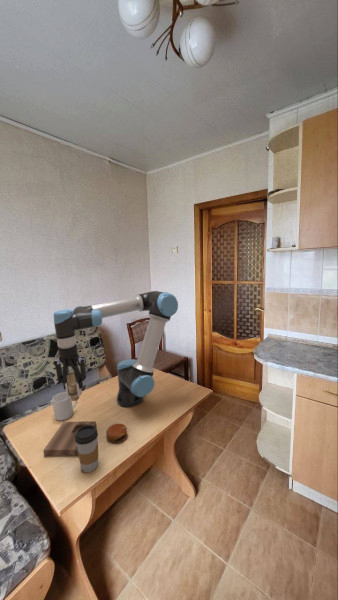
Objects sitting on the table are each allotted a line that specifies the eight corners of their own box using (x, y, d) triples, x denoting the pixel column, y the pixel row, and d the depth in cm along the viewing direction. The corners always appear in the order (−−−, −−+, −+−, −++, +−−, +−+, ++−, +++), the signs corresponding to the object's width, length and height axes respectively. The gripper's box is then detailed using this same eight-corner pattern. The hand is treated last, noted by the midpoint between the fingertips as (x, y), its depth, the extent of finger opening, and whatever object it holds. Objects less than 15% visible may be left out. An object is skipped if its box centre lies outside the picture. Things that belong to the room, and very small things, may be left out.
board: (96, 426, 119) (96, 421, 119) (82, 456, 101) (81, 449, 101) (64, 427, 120) (63, 421, 119) (44, 456, 102) (43, 450, 102)
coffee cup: (81, 458, 100) (77, 425, 98) (102, 456, 101) (99, 423, 98) (75, 476, 92) (71, 440, 89) (98, 473, 92) (94, 437, 90)
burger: (104, 434, 114) (103, 425, 113) (123, 427, 118) (122, 418, 117) (109, 448, 105) (109, 438, 104) (130, 440, 110) (129, 430, 109)
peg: (81, 395, 113) (78, 371, 111) (77, 401, 109) (74, 375, 107) (72, 396, 113) (68, 371, 111) (68, 401, 109) (64, 376, 107)
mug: (58, 424, 123) (55, 403, 121) (52, 416, 129) (49, 396, 127) (81, 413, 131) (79, 393, 129) (75, 406, 137) (72, 388, 135)
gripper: (90, 341, 110) (96, 389, 114) (52, 343, 111) (59, 391, 115) (84, 347, 103) (90, 399, 106) (43, 349, 103) (51, 401, 107)
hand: (74, 395), depth 110 cm, fingers closed on peg, 4 cm apart
